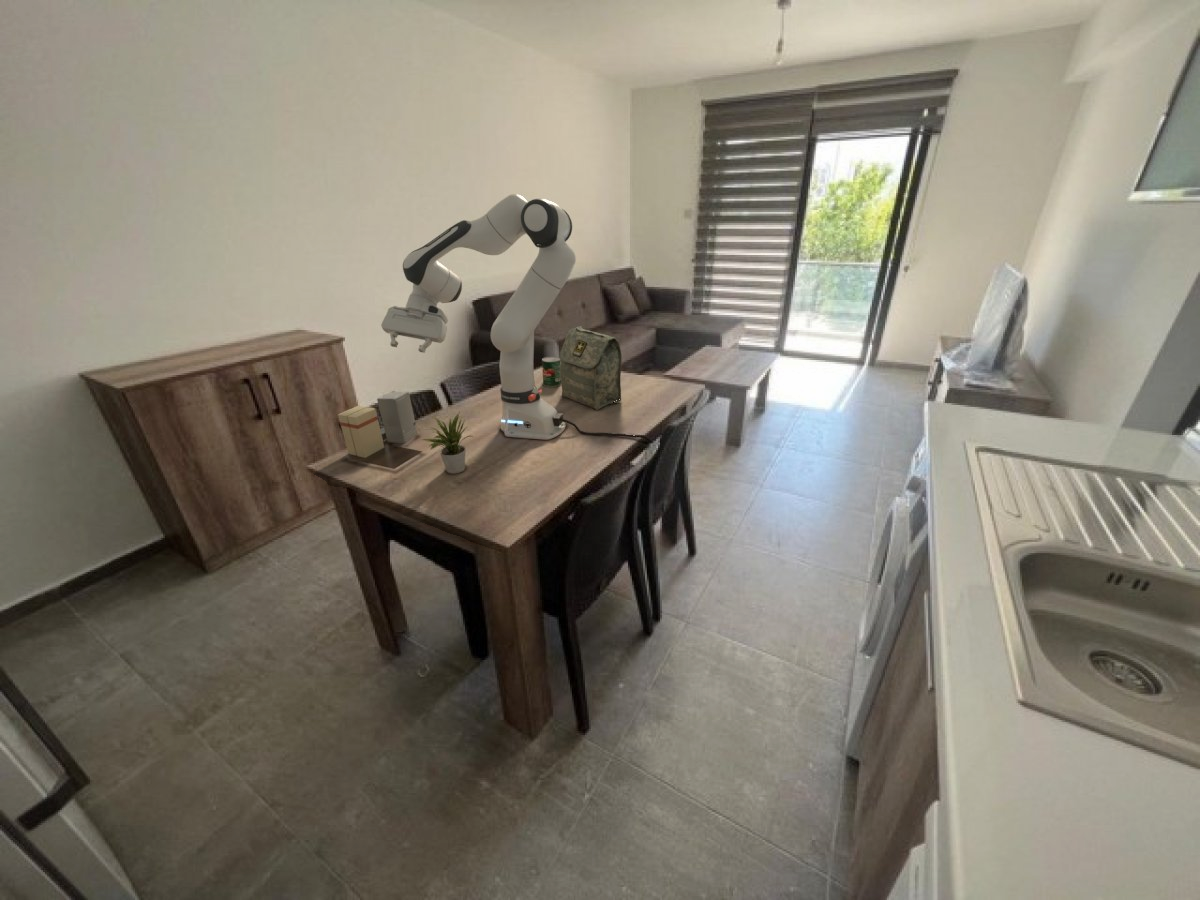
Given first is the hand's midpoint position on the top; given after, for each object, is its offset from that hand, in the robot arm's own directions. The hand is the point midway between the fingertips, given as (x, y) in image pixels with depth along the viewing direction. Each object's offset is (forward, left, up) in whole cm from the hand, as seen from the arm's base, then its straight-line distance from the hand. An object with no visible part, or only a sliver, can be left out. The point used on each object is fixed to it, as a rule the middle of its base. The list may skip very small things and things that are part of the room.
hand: (407, 348), depth 152 cm
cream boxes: (+3, +22, -27) cm, 34 cm away
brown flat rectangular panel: (-4, +22, -28) cm, 36 cm away
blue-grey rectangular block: (+6, +10, -28) cm, 30 cm away
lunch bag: (-43, -47, -28) cm, 70 cm away
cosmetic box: (0, +10, -28) cm, 30 cm away
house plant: (-28, +19, -28) cm, 44 cm away
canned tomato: (-20, -59, -28) cm, 68 cm away
